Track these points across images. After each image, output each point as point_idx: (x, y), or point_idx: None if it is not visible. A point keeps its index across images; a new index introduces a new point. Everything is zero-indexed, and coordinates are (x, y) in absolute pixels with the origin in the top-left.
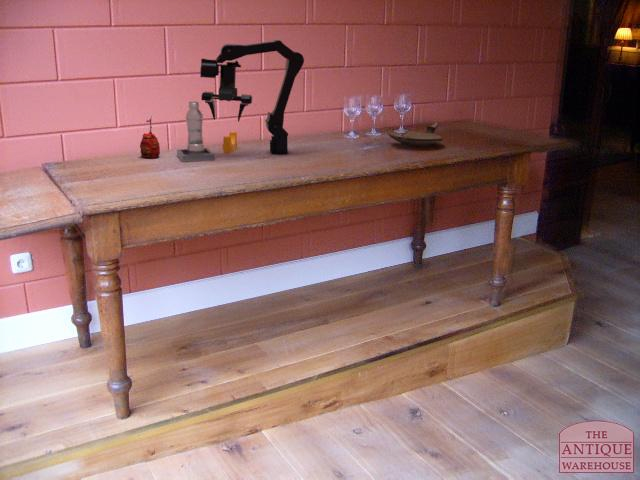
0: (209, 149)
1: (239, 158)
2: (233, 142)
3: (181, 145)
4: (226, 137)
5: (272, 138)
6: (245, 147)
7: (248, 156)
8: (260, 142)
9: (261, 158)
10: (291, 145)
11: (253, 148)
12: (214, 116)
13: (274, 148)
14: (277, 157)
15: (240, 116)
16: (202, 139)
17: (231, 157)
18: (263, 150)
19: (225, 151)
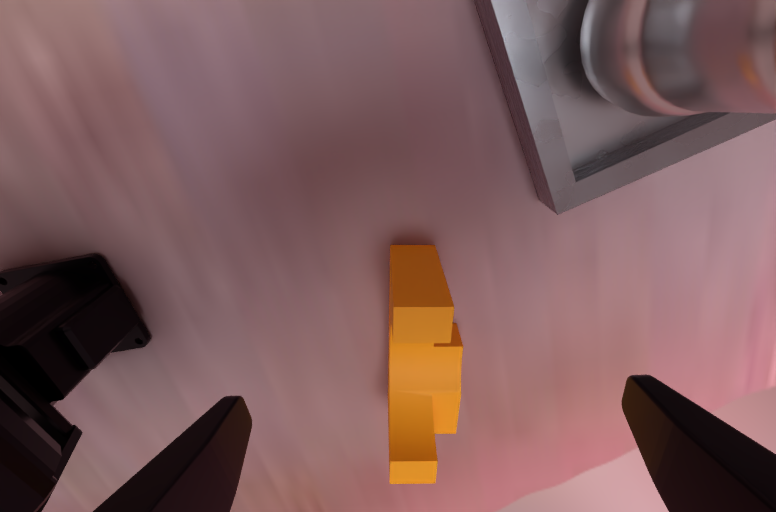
0: (539, 152)
1: (268, 68)
2: (397, 383)
3: (708, 390)
4: (423, 305)
5: (21, 342)
6: (339, 399)
7: (228, 158)
8: (300, 499)
9: (99, 100)
10: (119, 469)
11: (286, 384)
12: (674, 412)
13: (67, 292)
14: (4, 159)
15: (145, 466)
16: (677, 5)
17: (342, 97)
18: (208, 347)
19: (423, 249)
